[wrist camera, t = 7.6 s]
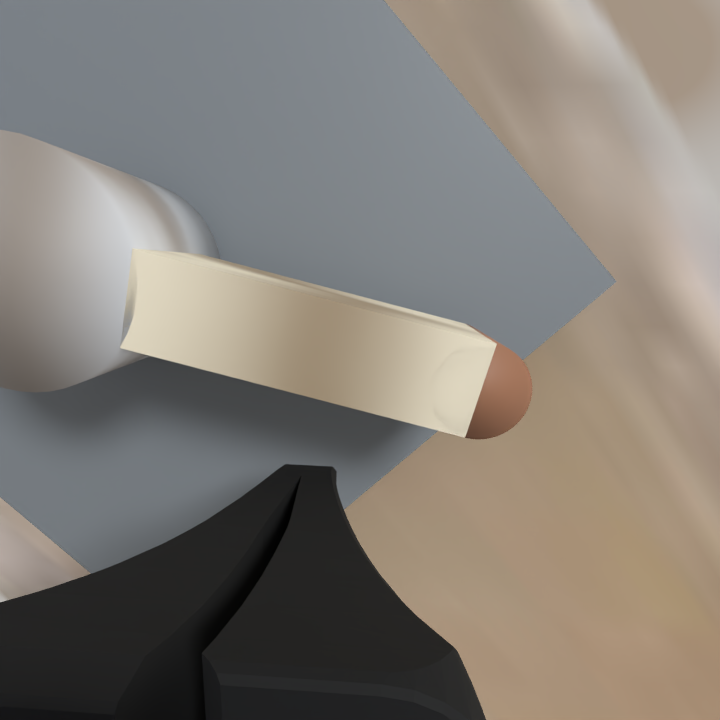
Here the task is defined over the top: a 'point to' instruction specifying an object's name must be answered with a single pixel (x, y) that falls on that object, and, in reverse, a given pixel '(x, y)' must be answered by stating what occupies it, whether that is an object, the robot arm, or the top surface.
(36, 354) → the grey beige handled piece
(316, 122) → the latch plate
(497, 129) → the top surface
